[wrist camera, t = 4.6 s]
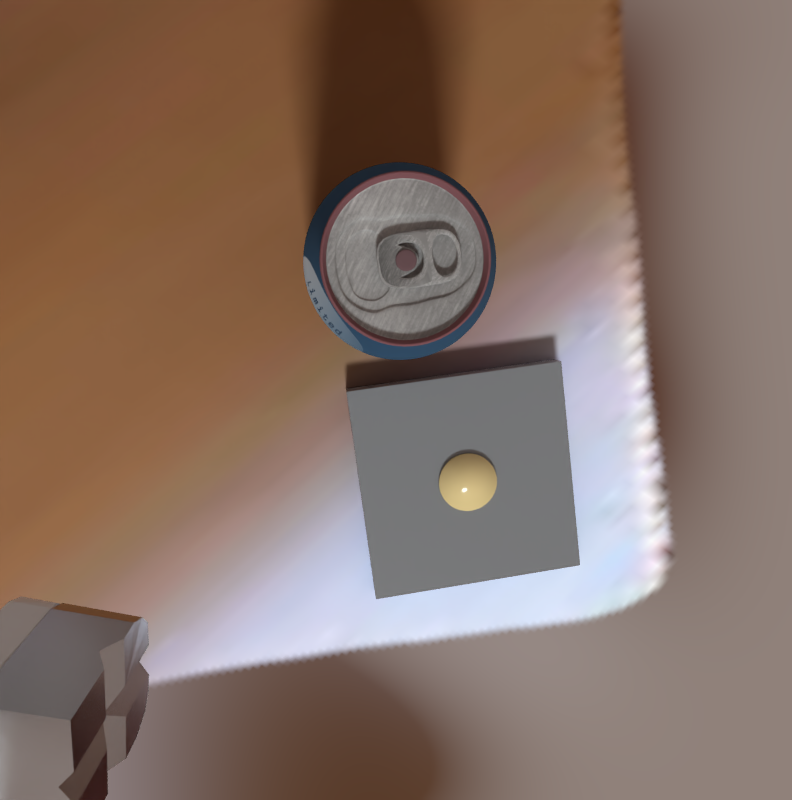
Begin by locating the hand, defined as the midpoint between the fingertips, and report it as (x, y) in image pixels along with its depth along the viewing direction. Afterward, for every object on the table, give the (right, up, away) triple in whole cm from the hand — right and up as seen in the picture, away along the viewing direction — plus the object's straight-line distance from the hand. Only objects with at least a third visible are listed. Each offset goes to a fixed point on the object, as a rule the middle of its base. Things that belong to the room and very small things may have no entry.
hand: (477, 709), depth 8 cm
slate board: (+3, 0, +28) cm, 28 cm away
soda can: (-2, +10, +26) cm, 28 cm away
